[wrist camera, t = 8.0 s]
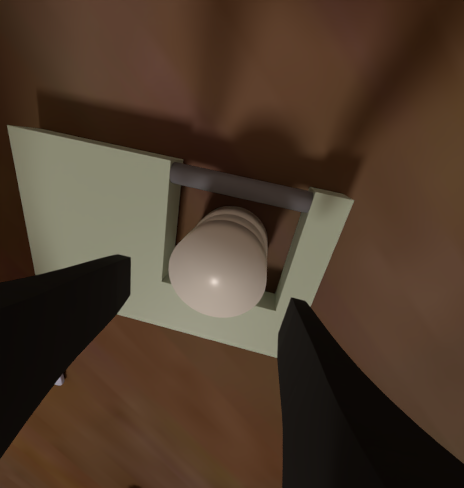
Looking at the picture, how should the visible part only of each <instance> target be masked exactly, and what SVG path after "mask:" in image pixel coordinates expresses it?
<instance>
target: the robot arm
mask: <svg viewBox="0 0 464 488" xmlns="http://www.w3.org/2000/svg"><path fill="white" fill-rule="evenodd" d="M130 294H131V257H128V256H124V255H120V254H116V255H111V256H107V257H103V258H99V259H95V260H92V261H88V262H85V263H81V264H78V265H74V266H70V267H67V268H63V269H59V270H55V271H51V272H47V273H43V274H39V275H35V276H31V277H26V278H22V279H17V280H12V281H7V282H1V283H0V458H1V457H2V455H3V454H4V453H5V451H6V450H7V448H8V447H9V446H10V444H11V443H12V441H13V440H14V438H15V437H16V436H17V434H18V433H19V431H20V430H21V429H22V427H23V426H24V424H25V423H26V421H27V420H28V419H29V417H30V416H31V415H32V413H33V412H34V411H35V409H36V408H37V407H38V405H39V404H40V403H41V401H42V400H43V399H44V397H45V396H46V395H47V393H48V392H49V391H50V389H51V388H52V387H53V386H54V384H56V385H62V384H63V383H64V375H63V373H64V371H65V370H66V369H67V368H68V367H69V365H70V364H71V363H72V362H73V361H74V360H75V358H76V357H77V356H78V355H79V354H80V353H81V352H82V351H83V350H84V349H85V348H86V347H87V346H88V345H89V343H90V342H91V341H92V340H93V339H94V338H95V337H96V336H97V335H98V334H99V333H100V332H101V331H102V330H103V329H104V327H105V326H106V325H107V324H108V323H109V322H110V321H111V320H112V319H113V318H114V317H115V315H116V314H117V313H118V312H119V311H120V309H121V308H122V306H123V305H124V304H125V302H126V301H127V299H128V298H129V296H130ZM277 360H278V372H279V384H280V396H281V407H282V422H283V483H282V488H464V464H463V463H462V462H461V461H459V460H458V459H457V458H456V457H455V456H453V455H452V454H451V453H450V452H449V451H447V450H446V449H445V448H444V447H443V446H441V445H440V444H439V443H438V442H437V441H435V440H434V439H433V438H432V437H431V436H430V435H428V434H427V433H426V432H425V431H424V430H423V429H422V428H420V427H419V426H418V425H417V424H416V423H415V422H414V421H413V420H412V419H410V418H409V417H408V416H407V415H406V414H405V413H404V412H403V411H402V410H401V409H400V408H398V407H397V406H396V405H395V404H394V403H393V402H392V401H391V400H390V399H389V398H388V397H387V396H386V395H385V394H384V393H383V392H382V391H381V390H380V389H379V388H378V387H377V386H376V385H375V384H374V383H373V382H372V381H371V380H370V379H369V378H368V377H367V376H366V375H365V374H364V373H363V372H362V371H361V370H360V368H359V367H358V366H357V365H356V364H355V363H354V362H353V361H352V359H351V358H350V357H349V356H348V355H347V354H346V352H345V351H344V350H343V349H342V348H341V347H340V345H339V344H338V343H337V342H336V340H335V339H334V338H333V337H332V335H331V334H330V333H329V331H328V330H327V329H326V327H325V326H324V325H323V323H322V322H321V321H320V319H319V318H318V317H317V315H316V314H315V313H314V311H313V310H312V309H311V307H310V306H309V305H308V303H307V302H306V301H304V300H300V299H296V298H292V297H291V299H290V302H289V305H288V307H287V310H286V313H285V316H284V318H283V321H282V324H281V327H280V330H279V332H278V347H277Z"/></svg>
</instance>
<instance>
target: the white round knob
mask: <svg viewBox="0 0 464 488" xmlns="http://www.w3.org/2000/svg"><path fill="white" fill-rule="evenodd" d="M267 250H268V237H267V232H266V229H265V227H264V225H263V223H262V222H261V220H260V219H259V218H258V217H257V216H256V215H255V214H253V213H252V212H250V211H249V210H247V209H244V208H241V207H237V206H224V207H220V208H217V209H215V210H213V211H211V212H210V213H208V214H207V215H206V216H205V217H204V218H203V219H202V220H201V221H200V222H199V223H198V224H197V226H196V227H195V228H194V229H192V230H191V231H190V232H189V233H188V234H187V235H186V236H185V237H184V238H183V239H182V240H181V241H180V242H179V243H178V245H177V246H176V247H175V248H174V250H173V252H172V254H171V257H170V260H169V268H168V270H169V278H170V281H171V284H172V286H173V288H174V290H175V292H176V293H177V295H178V296H179V297H180V298H181V300H182V301H183V302H184V303H186V304H187V305H188V306H189V307H191V308H192V309H194V310H196V311H197V312H200V313H202V314H205V315H208V316H212V317H218V318H228V317H234V316H238V315H241V314H243V313H246V312H247V311H249V310H251V309H252V308H253V307H254V306H255V305H256V304H257V303H258V302H259V301H260V299H261V298H262V296H263V294H264V291H265V288H266V281H267Z"/></svg>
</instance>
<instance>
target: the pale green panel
mask: <svg viewBox="0 0 464 488" xmlns="http://www.w3.org/2000/svg"><path fill="white" fill-rule="evenodd" d="M7 128H8V133H9V139H10V144H11V149H12V154H13V160H14V165H15V170H16V175H17V181H18V186H19V191H20V196H21V202H22V207H23V212H24V218H25V223H26V228H27V233H28V239H29V244H30V249H31V254H32V260H33V265H34V270H35V275H39V274H43V273H47V272H51V271H55V270H59V269H63V268H67V267H70V266H74V265H78V264H81V263H85V262H88V261H92V260H95V259H99V258H103V257H107V256H111V255H116V254H120V255H124V256H128V257H131V294H130V296H129V298H128V299H127V301H126V302H125V304H124V305H123V306H122V308H121V309H120V311H119V312H118V313H117V314H118V315H122V316H126V317H129V318H133V319H137V320H140V321H144V322H148V323H151V324H155V325H159V326H162V327H166V328H169V329H173V330H177V331H180V332H184V333H188V334H191V335H195V336H199V337H202V338H206V339H210V340H213V341H217V342H221V343H224V344H228V345H232V346H235V347H239V348H243V349H246V350H250V351H254V352H257V353H261V354H265V355H268V356H272V357H276V358H277V347H278V332H279V330H280V327H281V324H282V321H283V318H284V316H285V313H286V310H287V307H288V305H289V302H290V299H291V297H292V298H296V299H300V300H304V301H306V302H307V303H308V305H309V306H311V304H312V302H313V299H314V297H315V294H316V292H317V289H318V287H319V285H320V282H321V280H322V277H323V275H324V272H325V270H326V268H327V265H328V263H329V260H330V258H331V255H332V253H333V251H334V248H335V246H336V243H337V241H338V238H339V236H340V234H341V231H342V229H343V226H344V224H345V221H346V219H347V217H348V214H349V212H350V209H351V207H352V204H353V202H354V200H353V199H351V198H349V197H347V196H346V195H344V194H341V193H337V192H332V191H327V190H323V189H318V188H313V187H309V190H308V191H306V190H302V189H297V188H292V187H288V186H283V185H279V184H274V183H269V182H265V181H260V180H256V179H251V178H246V177H242V176H237V175H233V174H228V173H223V172H219V171H214V170H210V169H205V168H200V167H196V166H191V165H186V164H183V159H179V158H174V157H170V156H165V155H160V154H156V153H151V152H147V151H142V150H137V149H133V148H128V147H123V146H119V145H114V144H109V143H105V142H100V141H96V140H91V139H86V138H82V137H77V136H72V135H68V134H63V133H58V132H54V131H49V130H45V129H40V128H31V127H21V126H11V125H7ZM181 185H183V186H188V187H192V188H197V189H201V190H206V191H210V192H214V193H219V194H223V195H228V196H232V197H237V198H241V199H246V200H250V201H255V202H259V203H263V204H268V205H272V206H277V207H281V208H286V209H290V210H295V211H299V212H301V215H300V218H299V221H298V224H297V227H296V230H295V234H294V237H293V240H292V243H291V246H290V249H289V252H288V255H287V258H286V261H285V265H284V268H283V271H282V274H281V277H280V280H279V283H278V286H277V289H276V292H275V294H274V293H270V292H266V291H264V294H263V296H262V298H261V299H260V301H259V302H258V303H257V304H256V305H255V306H254V307H253V308H252V309H251V310H249V311H247V312H246V313H243V314H241V315H238V316H234V317H228V318H218V317H212V316H208V315H205V314H202V313H200V312H197V311H196V310H194V309H192V308H191V307H189V306H188V305H187V304H186V303H184V302H183V301H182V300H181V298H180V297H179V296H178V295H177V293H176V292H175V290H174V288H173V286H172V284H171V281H170V278H169V270H168V268H169V260H170V257H171V254H172V252H173V250H174V248H175V242H176V232H177V221H178V211H179V201H180V190H181Z"/></svg>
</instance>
